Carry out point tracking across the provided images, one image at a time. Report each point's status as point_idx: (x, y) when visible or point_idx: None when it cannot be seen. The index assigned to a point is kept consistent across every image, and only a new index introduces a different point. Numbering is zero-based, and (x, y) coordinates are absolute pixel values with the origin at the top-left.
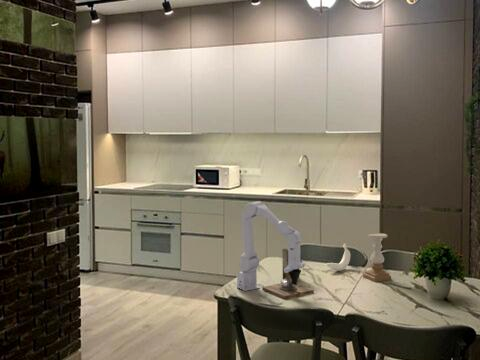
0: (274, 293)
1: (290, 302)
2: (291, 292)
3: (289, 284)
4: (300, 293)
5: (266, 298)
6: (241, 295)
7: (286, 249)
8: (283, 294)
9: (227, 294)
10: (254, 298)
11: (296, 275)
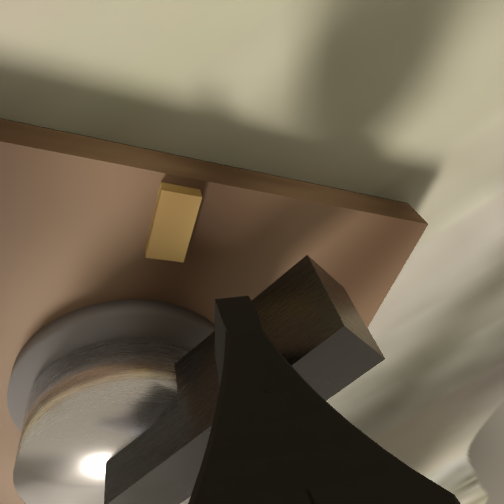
0: None
1: (496, 79)
2: (245, 263)
3: (368, 339)
4: (165, 168)
5: (453, 330)
6: (454, 454)
7: None
8: (374, 274)
9: (467, 494)
10: (488, 378)
11: (365, 445)
